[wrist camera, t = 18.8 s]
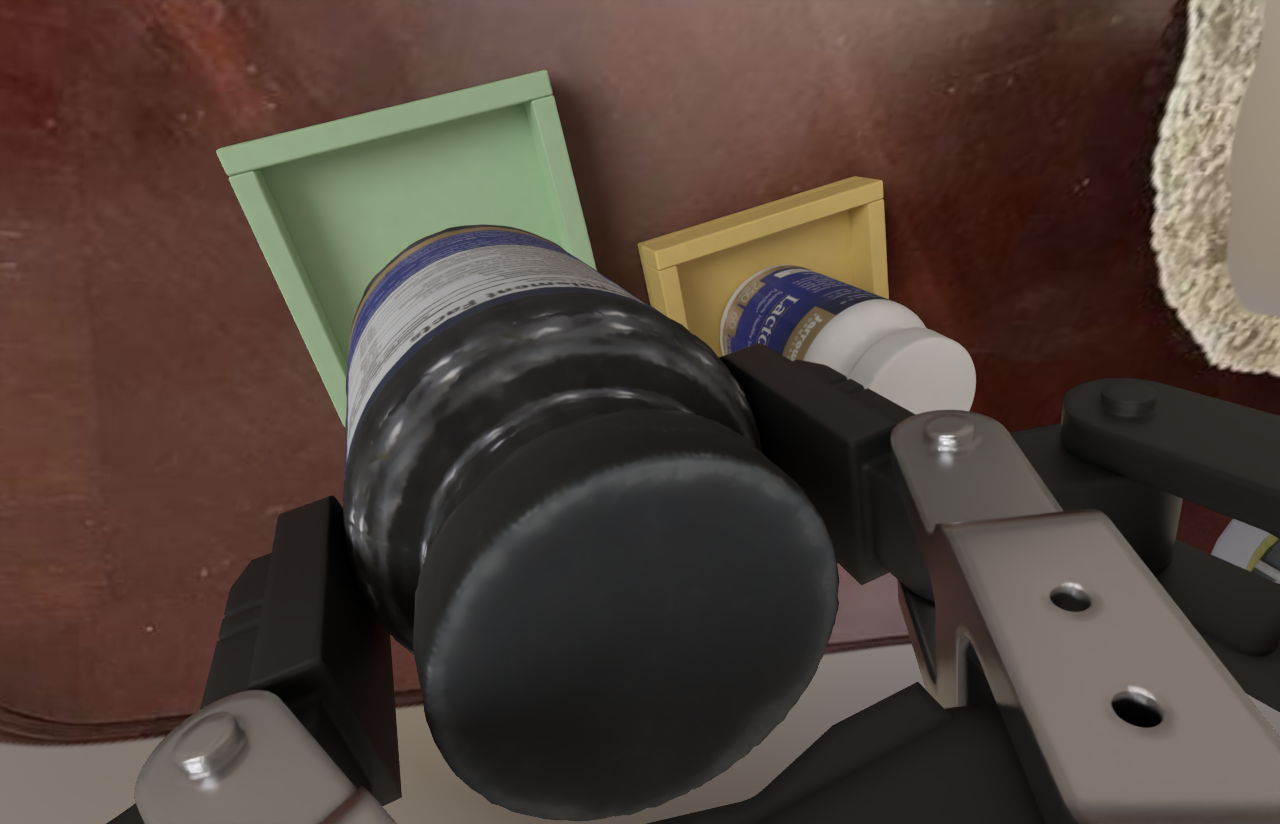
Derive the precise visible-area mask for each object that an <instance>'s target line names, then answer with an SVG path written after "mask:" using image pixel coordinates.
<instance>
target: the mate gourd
mask: <svg viewBox="0 0 1280 824" xmlns="http://www.w3.org/2000/svg"><path fill="white" fill-rule="evenodd" d="M1176 539H1177V540H1180V541H1182V542H1184V543H1186V544H1189V545H1191V546H1193V547H1196V548H1198V549H1200V550H1202V551H1205V552H1207V553H1209V554H1212V555H1214V556H1216V557H1218V558H1221V559H1223V560H1225V561H1227V562H1230V563H1232V564H1234V565H1237V566H1239V567H1241V568H1243V569H1246V570H1248V571H1250V572H1252V573H1255V574H1257V575H1259V576H1262V577H1264V578H1266V579H1268V580H1271V581H1273V582H1276V581H1278V582H1280V540H1279V539H1278V538H1277V537H1275V536H1273V535H1272V534H1270V533H1268V532H1266V531H1263V530H1261V529H1258V528H1256V527H1253V526H1251V525H1248V524H1246V523H1243V522H1241V521H1238V520H1236V519H1233V518H1230V517H1228V516H1225V515H1223V514H1220V513H1218V512H1215V511H1213V510H1210V509H1208V508H1205V507H1202V506H1200V505H1197V504H1195V503H1192V502H1190V501H1187V500H1185V499H1183V501H1182V507H1181V512H1180V518H1179V523H1178V528H1177V534H1176Z"/></svg>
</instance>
